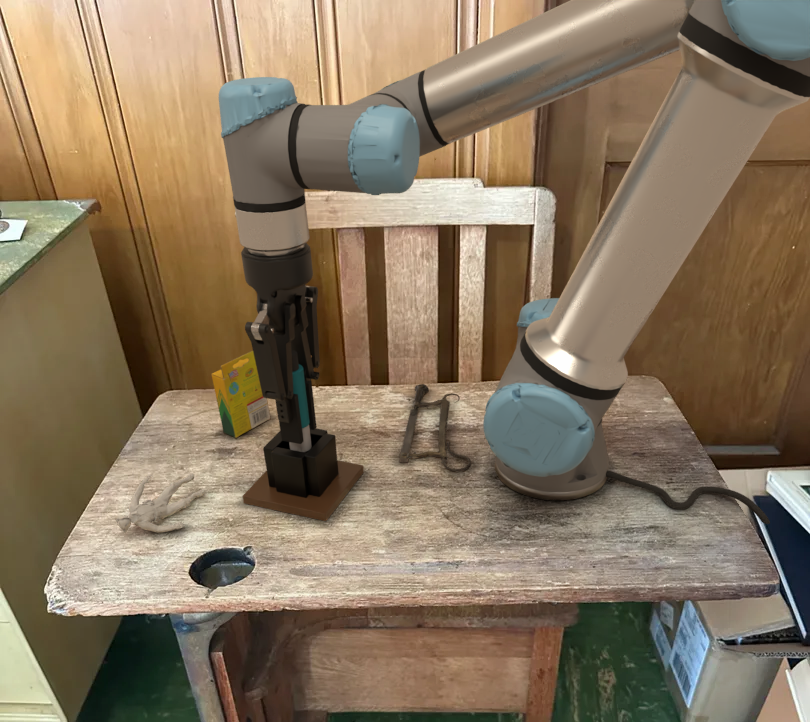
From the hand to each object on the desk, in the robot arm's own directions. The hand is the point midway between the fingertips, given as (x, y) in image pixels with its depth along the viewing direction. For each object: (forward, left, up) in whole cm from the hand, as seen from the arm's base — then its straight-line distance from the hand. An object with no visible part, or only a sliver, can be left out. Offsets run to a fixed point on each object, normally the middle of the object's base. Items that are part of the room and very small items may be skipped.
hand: (299, 433), depth 97 cm
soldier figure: (+14, +12, -9) cm, 20 cm away
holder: (0, 0, -8) cm, 8 cm away
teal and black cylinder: (0, 0, -2) cm, 2 cm away
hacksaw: (-12, -21, -9) cm, 26 cm away
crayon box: (+16, -12, -9) cm, 22 cm away
